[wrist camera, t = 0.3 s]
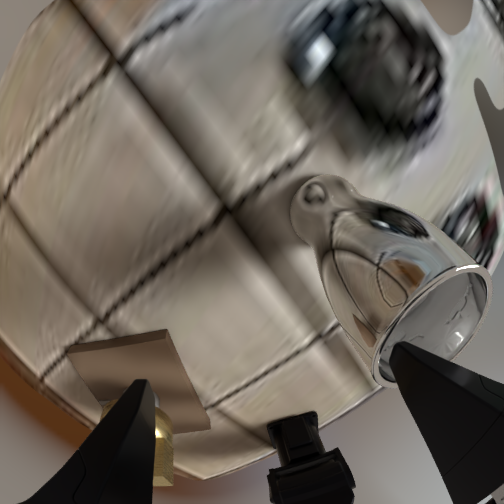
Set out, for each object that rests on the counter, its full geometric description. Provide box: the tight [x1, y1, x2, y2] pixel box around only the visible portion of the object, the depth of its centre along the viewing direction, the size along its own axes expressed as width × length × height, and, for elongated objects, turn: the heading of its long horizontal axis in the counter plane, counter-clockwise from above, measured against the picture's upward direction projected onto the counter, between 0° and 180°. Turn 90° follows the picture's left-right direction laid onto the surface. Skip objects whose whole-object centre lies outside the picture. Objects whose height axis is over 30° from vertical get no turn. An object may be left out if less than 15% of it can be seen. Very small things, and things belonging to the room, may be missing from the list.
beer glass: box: [290, 174, 493, 388], centre depth 16 cm, size 7×7×15 cm
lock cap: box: [100, 399, 173, 486], centre depth 19 cm, size 8×7×7 cm
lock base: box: [67, 329, 211, 434], centre depth 24 cm, size 14×11×4 cm
